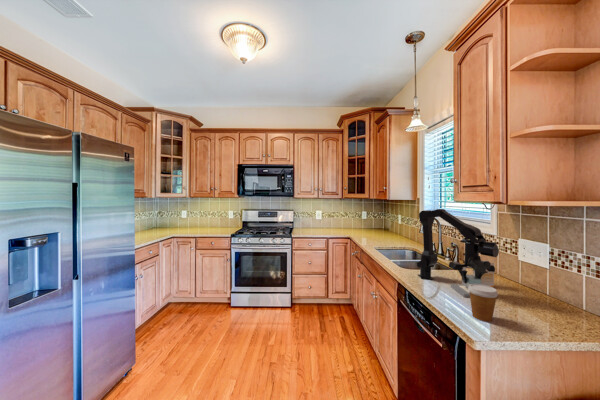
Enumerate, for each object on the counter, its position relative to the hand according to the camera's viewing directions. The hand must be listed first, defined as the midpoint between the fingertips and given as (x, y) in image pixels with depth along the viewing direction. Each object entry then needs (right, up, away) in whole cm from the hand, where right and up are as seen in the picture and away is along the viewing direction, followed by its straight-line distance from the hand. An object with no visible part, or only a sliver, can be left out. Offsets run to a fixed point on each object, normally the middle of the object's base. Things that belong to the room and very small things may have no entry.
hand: (470, 283), depth 120 cm
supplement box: (+13, -5, +9) cm, 17 cm away
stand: (0, -5, 0) cm, 4 cm away
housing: (0, -2, 0) cm, 2 cm away
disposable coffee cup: (-13, -5, -25) cm, 28 cm away
